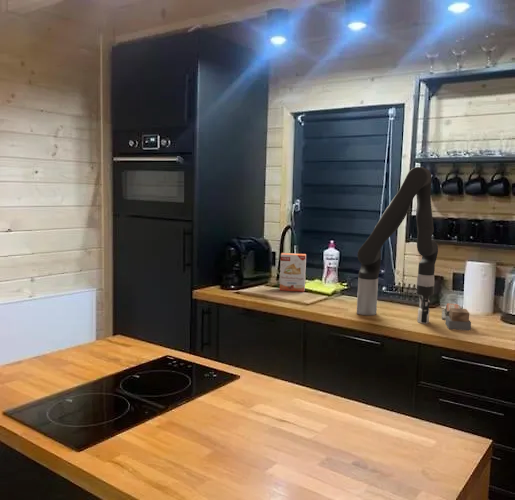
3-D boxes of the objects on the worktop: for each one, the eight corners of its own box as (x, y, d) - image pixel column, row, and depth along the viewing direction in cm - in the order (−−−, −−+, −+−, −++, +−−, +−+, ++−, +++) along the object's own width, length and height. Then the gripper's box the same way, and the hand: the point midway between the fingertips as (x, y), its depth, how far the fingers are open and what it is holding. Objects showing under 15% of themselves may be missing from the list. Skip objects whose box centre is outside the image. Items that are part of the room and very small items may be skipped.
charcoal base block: (448, 330, 241) (449, 321, 241) (445, 324, 250) (445, 315, 250) (470, 331, 240) (471, 322, 239) (466, 325, 249) (466, 317, 248)
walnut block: (451, 320, 241) (452, 312, 240) (449, 316, 248) (449, 308, 247) (468, 321, 240) (469, 313, 239) (465, 317, 247) (466, 309, 246)
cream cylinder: (418, 323, 250) (418, 310, 249) (416, 320, 255) (417, 307, 254) (429, 323, 249) (430, 310, 248) (428, 321, 254) (428, 308, 253)
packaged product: (442, 301, 273) (463, 303, 270) (441, 311, 274) (463, 313, 271) (442, 310, 256) (465, 312, 253) (441, 320, 257) (464, 322, 254)
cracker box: (279, 290, 311) (280, 254, 308) (280, 288, 317) (281, 252, 314) (304, 292, 309) (305, 255, 306) (305, 289, 315) (306, 253, 312)
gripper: (415, 280, 257) (412, 316, 259) (418, 286, 243) (416, 324, 245) (431, 281, 256) (429, 317, 258) (436, 287, 242) (434, 325, 244)
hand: (423, 320), depth 252 cm, fingers closed on cream cylinder, 5 cm apart
